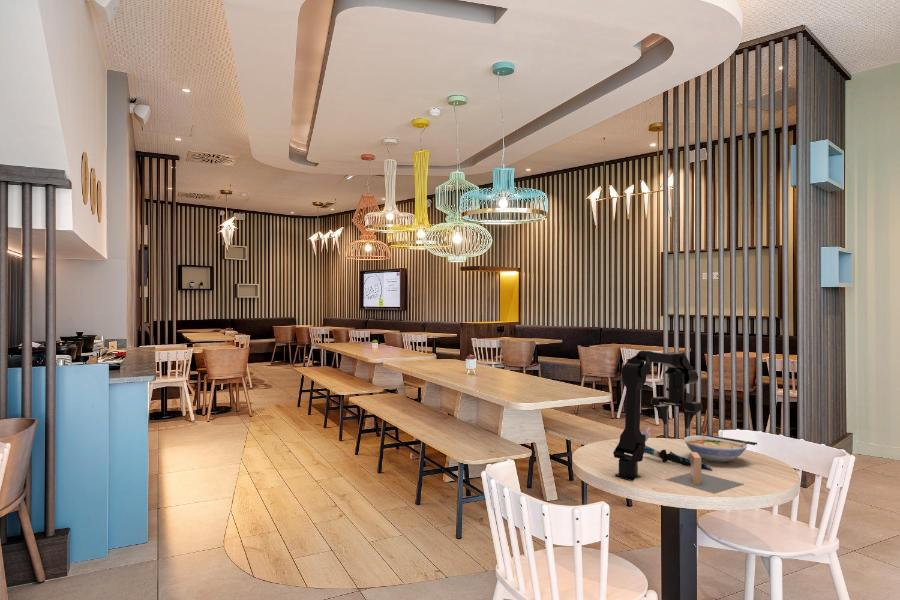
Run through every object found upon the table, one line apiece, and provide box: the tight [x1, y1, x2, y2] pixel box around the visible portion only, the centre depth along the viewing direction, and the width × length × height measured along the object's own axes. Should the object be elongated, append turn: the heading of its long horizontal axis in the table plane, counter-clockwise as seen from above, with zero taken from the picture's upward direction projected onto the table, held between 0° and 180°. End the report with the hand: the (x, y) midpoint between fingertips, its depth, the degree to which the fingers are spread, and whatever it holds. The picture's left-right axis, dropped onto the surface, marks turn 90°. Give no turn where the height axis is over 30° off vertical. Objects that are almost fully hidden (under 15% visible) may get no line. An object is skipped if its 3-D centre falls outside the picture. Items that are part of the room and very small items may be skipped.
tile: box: [690, 451, 702, 485], centre depth 194 cm, size 2×8×9 cm, turn 164°
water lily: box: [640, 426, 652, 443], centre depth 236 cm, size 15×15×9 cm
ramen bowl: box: [683, 432, 758, 463], centre depth 224 cm, size 25×23×8 cm
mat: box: [664, 472, 745, 494], centre depth 193 cm, size 18×18×1 cm
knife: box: [644, 445, 714, 472], centre depth 218 cm, size 31×3×4 cm, turn 38°
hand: (676, 426), depth 216 cm, fingers open, 9 cm apart
